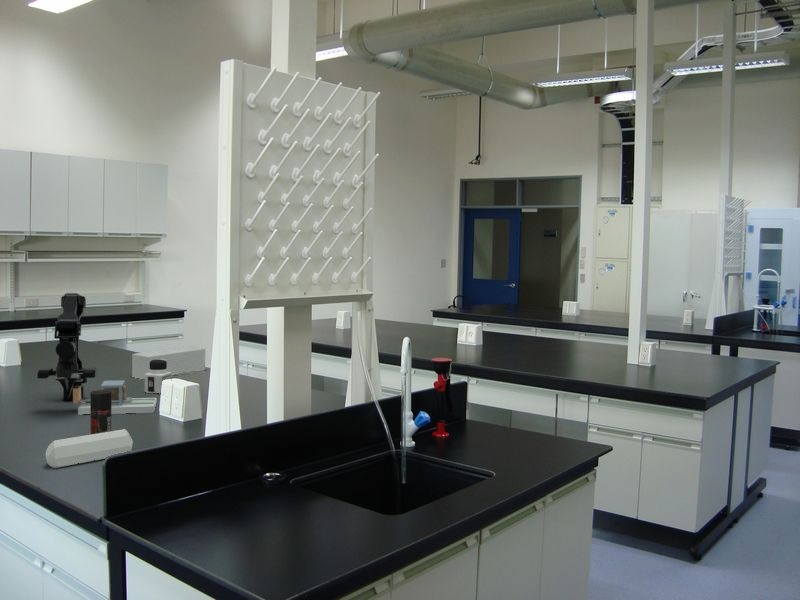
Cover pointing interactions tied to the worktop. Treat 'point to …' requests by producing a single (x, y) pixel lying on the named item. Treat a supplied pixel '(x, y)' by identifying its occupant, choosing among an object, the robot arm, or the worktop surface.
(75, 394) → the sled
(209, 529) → the worktop surface
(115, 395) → the block
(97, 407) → the deodorant
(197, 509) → the worktop surface
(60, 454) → the crystal
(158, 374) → the container
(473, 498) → the worktop surface
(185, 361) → the long grey rectangular block
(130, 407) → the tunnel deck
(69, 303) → the robot arm
